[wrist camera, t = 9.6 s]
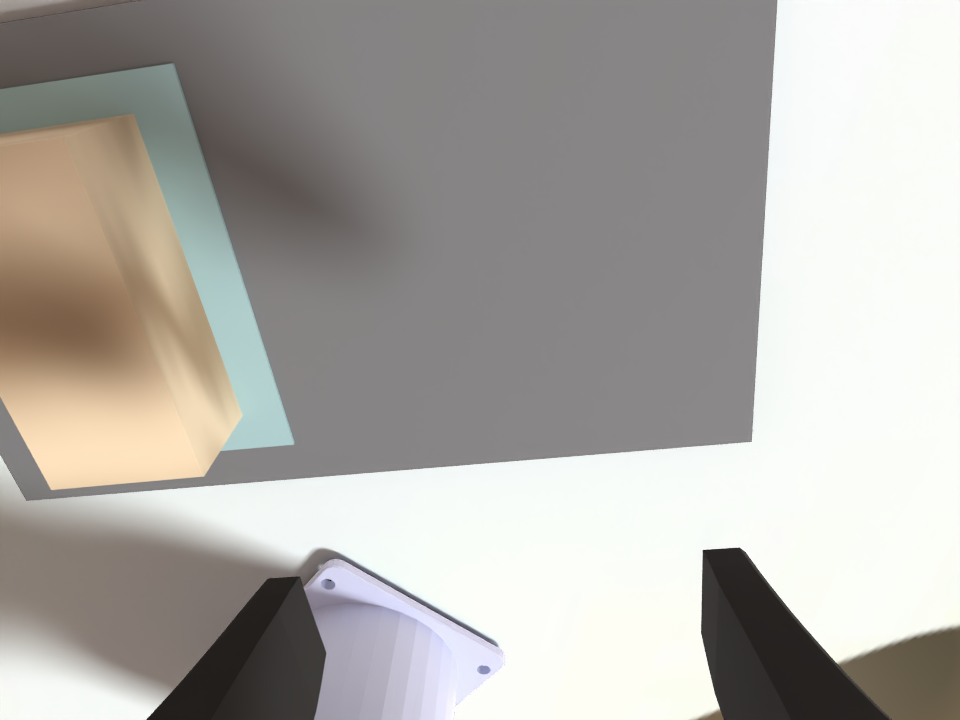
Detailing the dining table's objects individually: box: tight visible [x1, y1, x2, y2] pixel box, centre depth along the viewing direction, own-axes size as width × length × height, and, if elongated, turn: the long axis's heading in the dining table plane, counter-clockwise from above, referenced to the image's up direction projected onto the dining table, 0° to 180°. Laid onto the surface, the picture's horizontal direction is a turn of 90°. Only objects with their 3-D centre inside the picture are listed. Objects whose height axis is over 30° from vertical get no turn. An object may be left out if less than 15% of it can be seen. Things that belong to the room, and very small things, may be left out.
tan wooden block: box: [0, 114, 242, 490], centre depth 18 cm, size 9×4×3 cm, turn 8°
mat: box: [0, 0, 777, 501], centre depth 19 cm, size 24×14×1 cm, turn 98°
